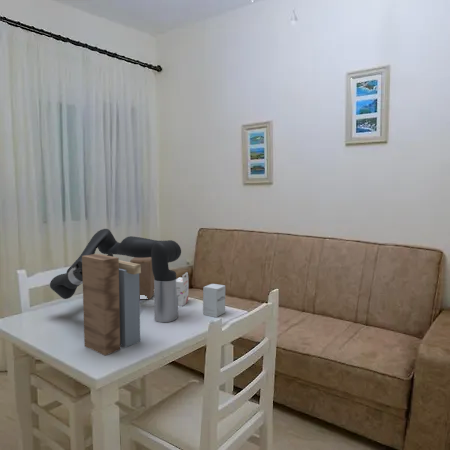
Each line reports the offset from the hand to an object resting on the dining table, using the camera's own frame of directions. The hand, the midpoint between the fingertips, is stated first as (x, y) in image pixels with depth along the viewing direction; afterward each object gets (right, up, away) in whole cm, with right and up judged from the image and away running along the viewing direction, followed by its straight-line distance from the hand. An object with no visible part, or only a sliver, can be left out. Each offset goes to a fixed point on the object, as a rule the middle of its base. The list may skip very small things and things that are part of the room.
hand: (102, 256), depth 143 cm
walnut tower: (+3, -31, -10) cm, 32 cm away
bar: (+6, -4, -4) cm, 9 cm away
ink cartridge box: (+25, -26, +41) cm, 54 cm away
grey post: (+8, -30, -4) cm, 31 cm away
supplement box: (+41, -28, +26) cm, 56 cm away
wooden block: (+4, -25, +50) cm, 56 cm away
